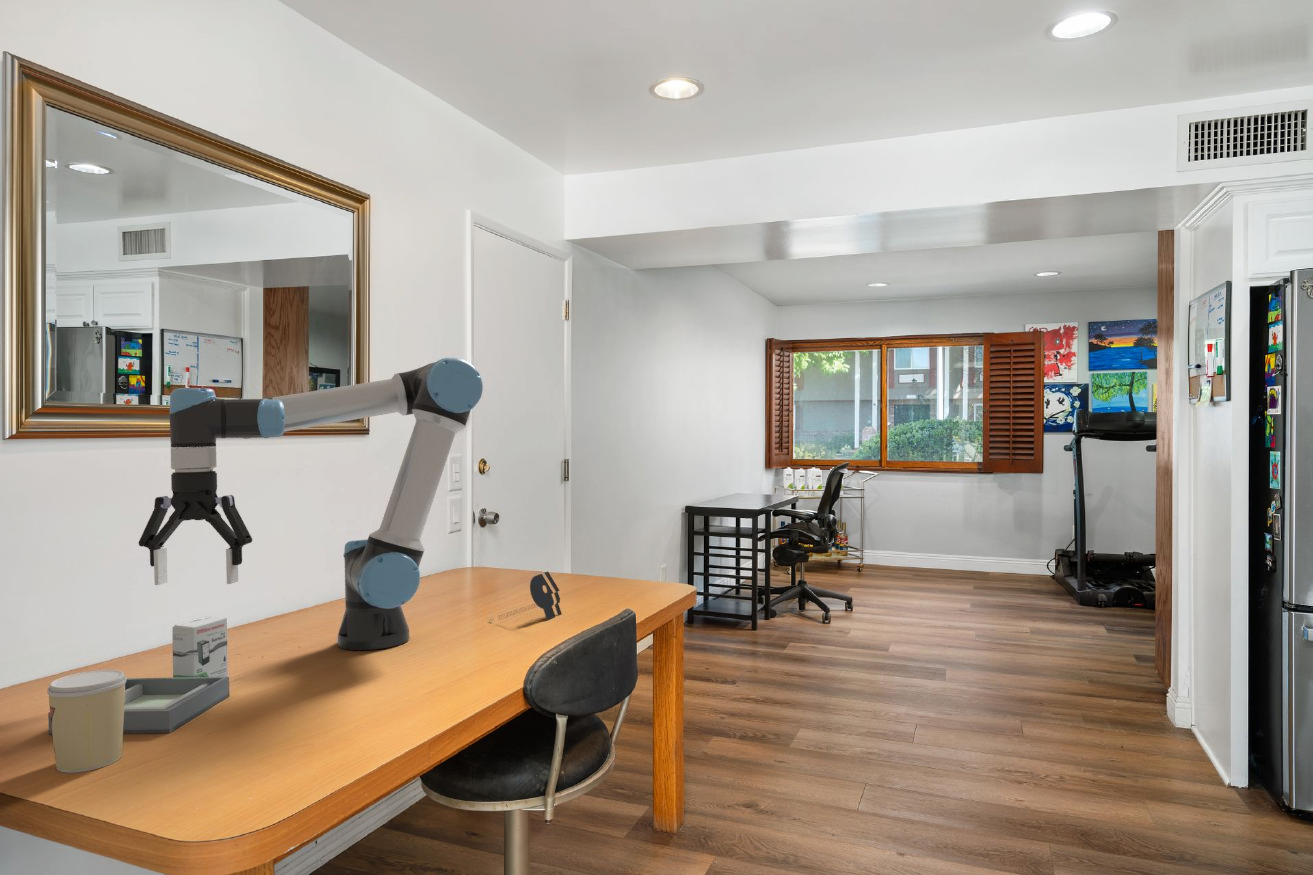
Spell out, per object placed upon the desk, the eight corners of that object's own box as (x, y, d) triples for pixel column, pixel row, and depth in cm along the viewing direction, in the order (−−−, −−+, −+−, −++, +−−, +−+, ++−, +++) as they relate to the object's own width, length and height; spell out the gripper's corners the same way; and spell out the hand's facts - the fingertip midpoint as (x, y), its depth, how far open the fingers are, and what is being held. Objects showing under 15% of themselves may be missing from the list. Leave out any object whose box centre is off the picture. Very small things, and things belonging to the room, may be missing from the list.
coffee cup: (75, 750, 123) (73, 670, 123) (141, 747, 124) (139, 667, 124) (33, 777, 114) (31, 689, 114) (105, 773, 114) (103, 686, 114)
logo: (591, 604, 208) (576, 560, 209) (544, 624, 193) (528, 577, 194) (543, 619, 217) (529, 578, 218) (494, 639, 202) (480, 595, 203)
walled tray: (229, 696, 148) (229, 676, 148) (169, 732, 130) (169, 710, 130) (123, 697, 148) (122, 678, 148) (48, 734, 130) (48, 712, 130)
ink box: (193, 691, 151) (192, 626, 151) (171, 689, 152) (170, 625, 152) (229, 677, 159) (228, 616, 159) (208, 676, 161) (206, 615, 160)
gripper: (269, 468, 159) (272, 578, 160) (141, 470, 160) (143, 580, 160) (249, 470, 152) (252, 585, 152) (115, 472, 152) (117, 587, 152)
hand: (196, 583), depth 156 cm, fingers open, 13 cm apart
